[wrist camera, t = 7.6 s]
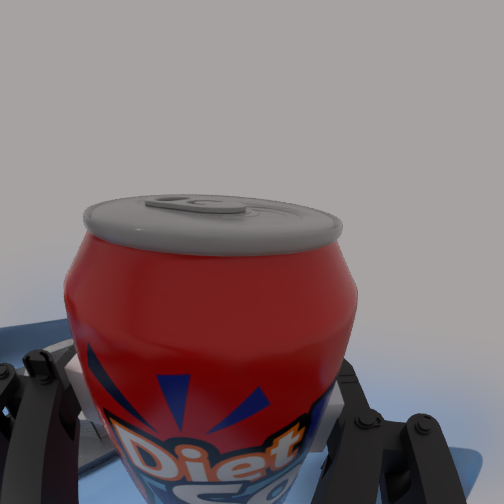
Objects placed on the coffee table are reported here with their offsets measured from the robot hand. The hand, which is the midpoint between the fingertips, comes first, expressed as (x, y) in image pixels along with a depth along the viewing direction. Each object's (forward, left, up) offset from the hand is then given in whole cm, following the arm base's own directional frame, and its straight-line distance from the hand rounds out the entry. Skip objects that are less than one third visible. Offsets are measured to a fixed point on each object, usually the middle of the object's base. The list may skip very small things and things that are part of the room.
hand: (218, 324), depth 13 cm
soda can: (+3, -4, -9) cm, 10 cm away
